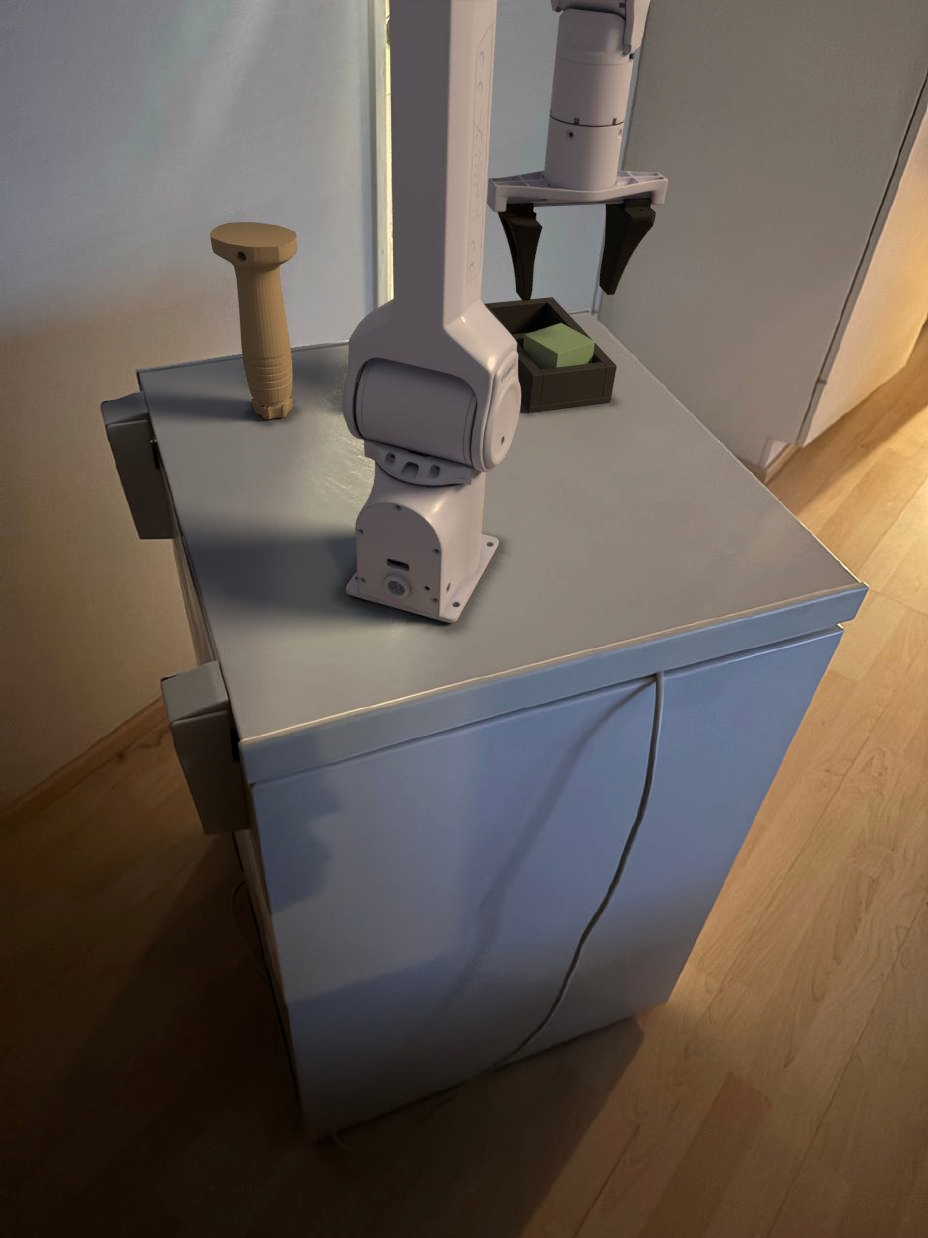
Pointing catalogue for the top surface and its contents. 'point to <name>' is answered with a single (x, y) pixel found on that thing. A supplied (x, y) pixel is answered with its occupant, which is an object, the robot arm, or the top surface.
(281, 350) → the handle
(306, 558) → the top surface
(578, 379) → the holder
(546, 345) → the green cube
